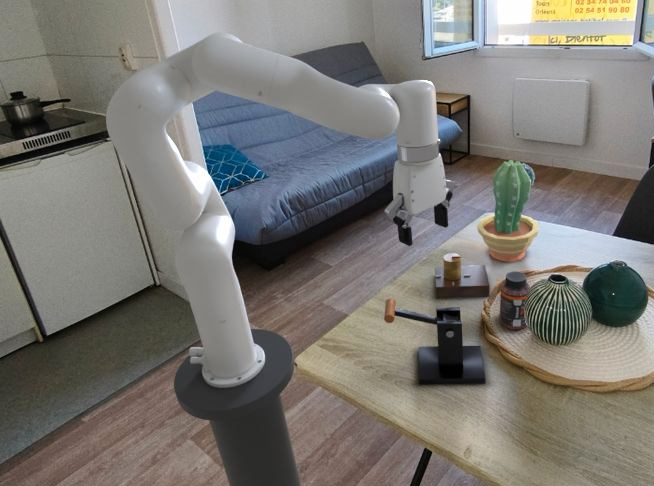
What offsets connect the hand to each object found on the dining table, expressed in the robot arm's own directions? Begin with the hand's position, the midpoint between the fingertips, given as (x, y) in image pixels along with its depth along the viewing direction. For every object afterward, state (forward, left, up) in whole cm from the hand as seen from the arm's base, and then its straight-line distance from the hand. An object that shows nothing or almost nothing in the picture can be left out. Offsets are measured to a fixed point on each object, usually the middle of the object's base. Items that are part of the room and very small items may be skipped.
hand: (424, 234), depth 98 cm
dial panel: (+8, +14, -22) cm, 27 cm away
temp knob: (+6, +14, -19) cm, 24 cm away
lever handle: (-2, -13, -11) cm, 17 cm away
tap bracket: (+4, -13, -22) cm, 26 cm away
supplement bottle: (+18, 0, -22) cm, 28 cm away
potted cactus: (+21, +29, -22) cm, 42 cm away
